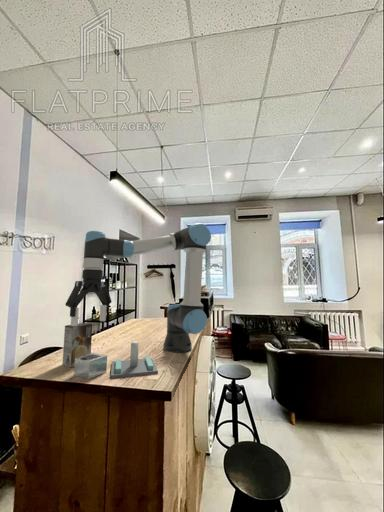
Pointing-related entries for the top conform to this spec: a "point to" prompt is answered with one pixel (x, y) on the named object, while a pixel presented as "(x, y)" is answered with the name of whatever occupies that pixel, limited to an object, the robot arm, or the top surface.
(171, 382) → the top surface
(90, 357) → the collar
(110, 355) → the top surface
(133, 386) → the top surface
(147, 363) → the board
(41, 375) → the top surface
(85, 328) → the coffee box
